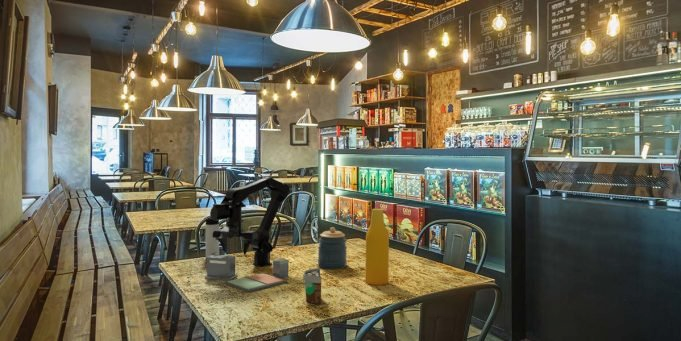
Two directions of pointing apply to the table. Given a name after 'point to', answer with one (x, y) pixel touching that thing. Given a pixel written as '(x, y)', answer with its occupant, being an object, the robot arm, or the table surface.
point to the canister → (332, 250)
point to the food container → (313, 286)
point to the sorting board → (255, 282)
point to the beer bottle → (377, 250)
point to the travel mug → (211, 242)
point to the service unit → (221, 267)
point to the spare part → (280, 268)
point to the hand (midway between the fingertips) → (234, 254)
